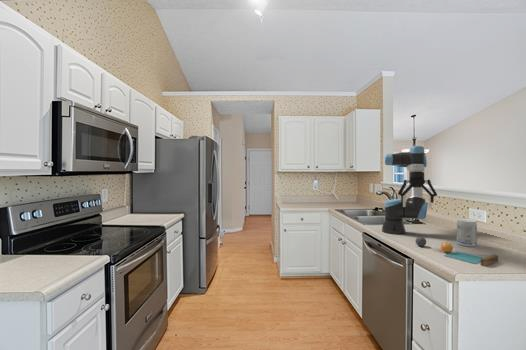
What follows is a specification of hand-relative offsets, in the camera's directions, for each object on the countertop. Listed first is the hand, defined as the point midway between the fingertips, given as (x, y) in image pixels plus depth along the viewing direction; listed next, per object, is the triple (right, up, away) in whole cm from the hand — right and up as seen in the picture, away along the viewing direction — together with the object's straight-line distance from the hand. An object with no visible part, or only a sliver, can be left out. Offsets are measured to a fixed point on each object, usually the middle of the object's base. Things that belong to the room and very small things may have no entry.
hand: (416, 207), depth 159 cm
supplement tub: (+30, -23, +2) cm, 38 cm away
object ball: (+9, -20, -13) cm, 25 cm away
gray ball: (+2, -20, -1) cm, 20 cm away
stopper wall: (+18, -23, -30) cm, 42 cm away
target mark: (+13, -23, -21) cm, 34 cm away
